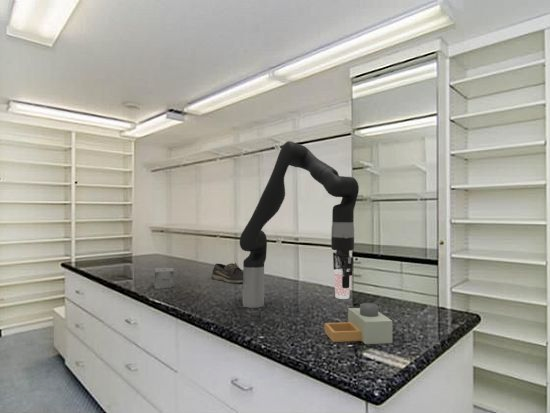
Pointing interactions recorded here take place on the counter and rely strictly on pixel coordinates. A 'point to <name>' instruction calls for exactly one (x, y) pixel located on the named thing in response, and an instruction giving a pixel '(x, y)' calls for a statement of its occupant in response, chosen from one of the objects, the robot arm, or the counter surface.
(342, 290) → the beverage cup
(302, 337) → the counter surface
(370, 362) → the counter surface
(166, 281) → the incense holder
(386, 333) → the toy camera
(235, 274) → the boat shoe
